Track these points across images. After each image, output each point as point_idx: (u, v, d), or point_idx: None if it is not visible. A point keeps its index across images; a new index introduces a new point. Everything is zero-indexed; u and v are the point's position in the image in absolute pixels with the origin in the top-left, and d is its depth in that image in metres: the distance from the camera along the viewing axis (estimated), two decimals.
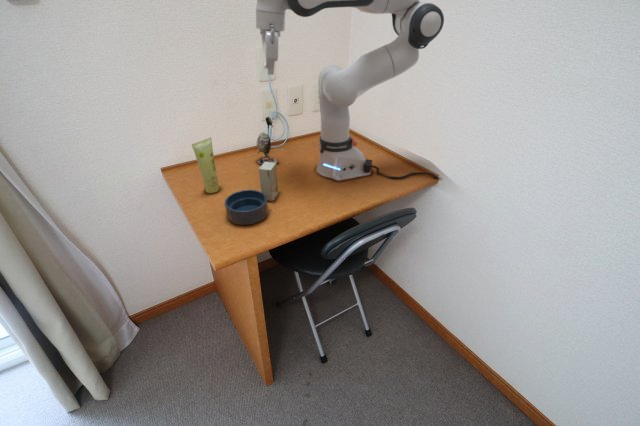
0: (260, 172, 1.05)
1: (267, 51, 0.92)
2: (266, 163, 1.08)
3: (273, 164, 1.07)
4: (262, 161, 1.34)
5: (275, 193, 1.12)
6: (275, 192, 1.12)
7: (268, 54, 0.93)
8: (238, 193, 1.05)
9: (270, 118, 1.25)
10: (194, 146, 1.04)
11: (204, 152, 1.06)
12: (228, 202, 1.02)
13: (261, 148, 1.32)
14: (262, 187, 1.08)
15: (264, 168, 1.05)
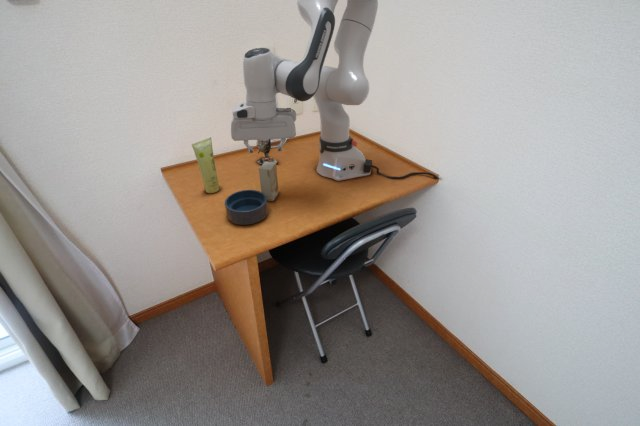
0: (260, 172, 1.05)
1: (295, 130, 1.00)
2: (266, 163, 1.08)
3: (273, 164, 1.07)
4: (262, 161, 1.34)
5: (275, 193, 1.12)
6: (275, 192, 1.12)
7: (295, 132, 1.00)
8: (238, 193, 1.05)
9: None
10: (194, 146, 1.04)
11: (204, 152, 1.06)
12: (228, 202, 1.02)
13: (261, 148, 1.32)
14: (262, 187, 1.08)
15: (264, 168, 1.05)
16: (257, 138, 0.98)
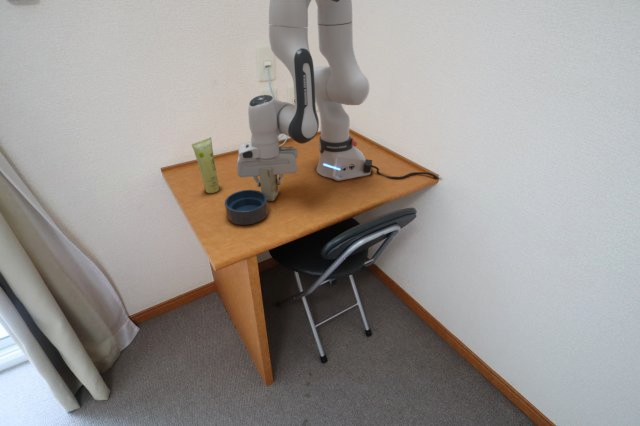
0: (260, 172, 1.05)
1: None
2: None
3: None
4: None
5: (275, 193, 1.12)
6: (275, 192, 1.12)
7: None
8: (238, 193, 1.05)
9: None
10: (194, 146, 1.04)
11: (204, 152, 1.06)
12: (228, 202, 1.02)
13: None
14: (262, 187, 1.08)
15: (264, 168, 1.05)
16: None
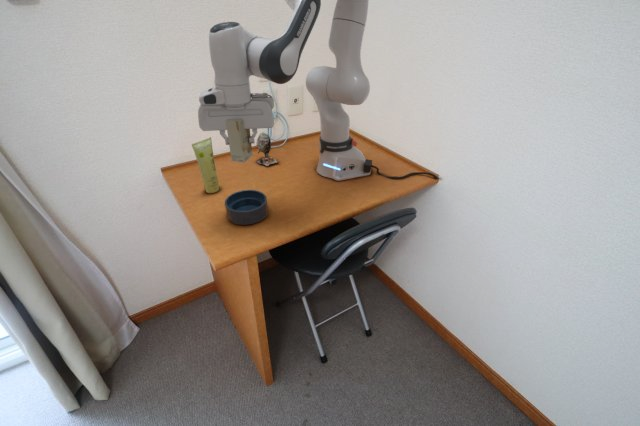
0: (227, 124, 0.85)
1: (273, 119, 0.88)
2: None
3: None
4: (262, 161, 1.34)
5: (248, 153, 0.92)
6: (248, 153, 0.92)
7: (273, 121, 0.88)
8: (238, 193, 1.05)
9: None
10: (194, 146, 1.04)
11: (204, 152, 1.06)
12: (228, 202, 1.02)
13: (261, 148, 1.32)
14: (231, 144, 0.88)
15: None
16: None
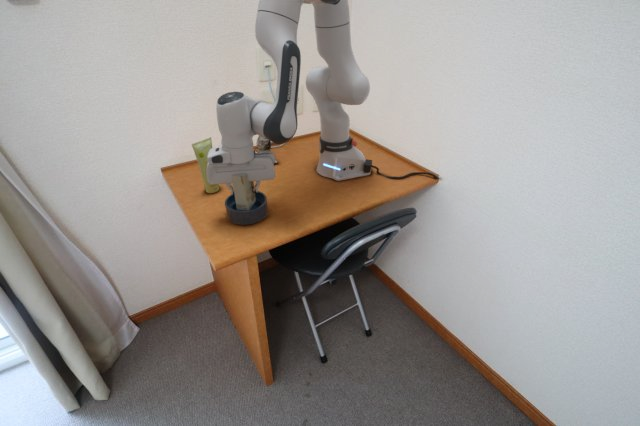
0: (233, 179, 0.93)
1: (274, 172, 0.96)
2: None
3: None
4: None
5: (251, 201, 1.00)
6: (252, 201, 1.00)
7: None
8: None
9: None
10: (194, 146, 1.04)
11: (204, 152, 1.06)
12: (228, 202, 1.02)
13: (261, 148, 1.32)
14: (236, 195, 0.97)
15: (238, 174, 0.93)
16: None
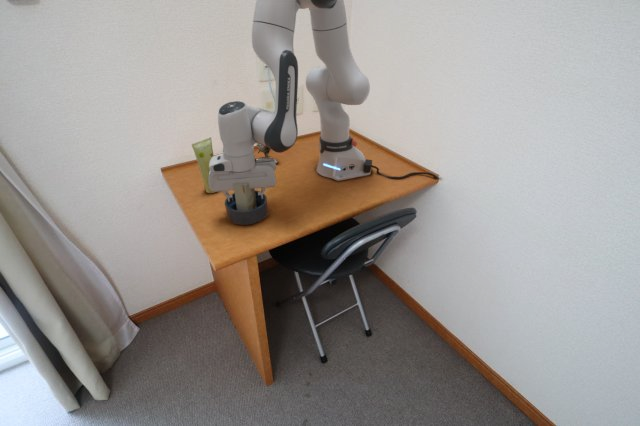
0: (235, 187, 0.95)
1: (275, 179, 0.97)
2: None
3: None
4: None
5: None
6: None
7: None
8: None
9: None
10: (194, 146, 1.04)
11: (204, 152, 1.06)
12: (228, 202, 1.02)
13: (261, 148, 1.32)
14: (238, 203, 0.98)
15: (239, 183, 0.95)
16: None
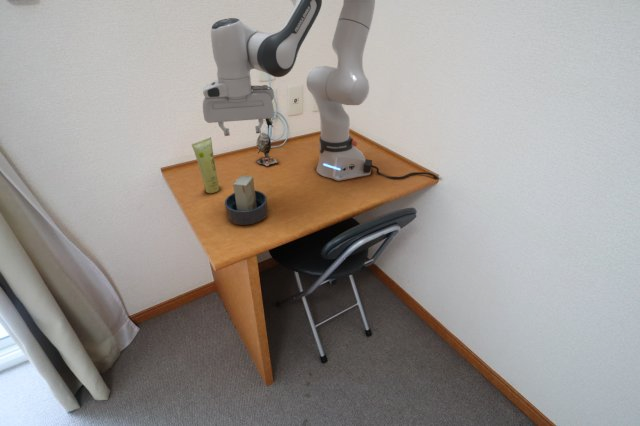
0: (235, 187, 0.95)
1: (273, 109, 0.93)
2: (242, 177, 0.98)
3: (249, 178, 0.98)
4: (262, 161, 1.34)
5: None
6: None
7: None
8: None
9: (270, 118, 1.25)
10: (194, 146, 1.04)
11: (204, 152, 1.06)
12: (228, 202, 1.02)
13: (261, 148, 1.32)
14: (238, 203, 0.98)
15: (239, 183, 0.95)
16: (232, 119, 0.91)
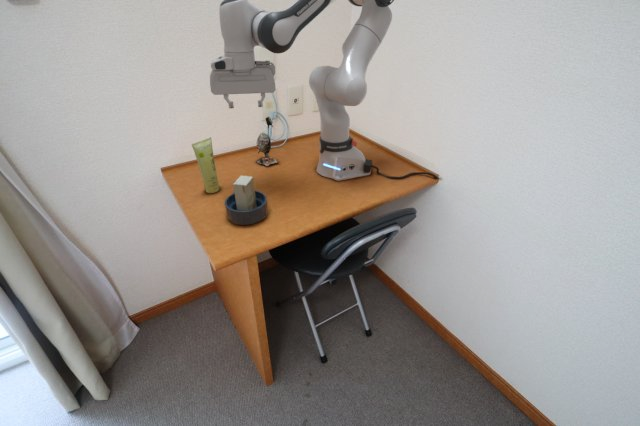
0: (235, 187, 0.95)
1: None
2: (242, 177, 0.98)
3: (249, 178, 0.98)
4: (262, 161, 1.34)
5: None
6: None
7: None
8: None
9: (270, 118, 1.25)
10: (194, 146, 1.04)
11: (204, 152, 1.06)
12: (228, 202, 1.02)
13: (261, 148, 1.32)
14: (238, 203, 0.98)
15: (239, 183, 0.95)
16: (236, 92, 0.99)
